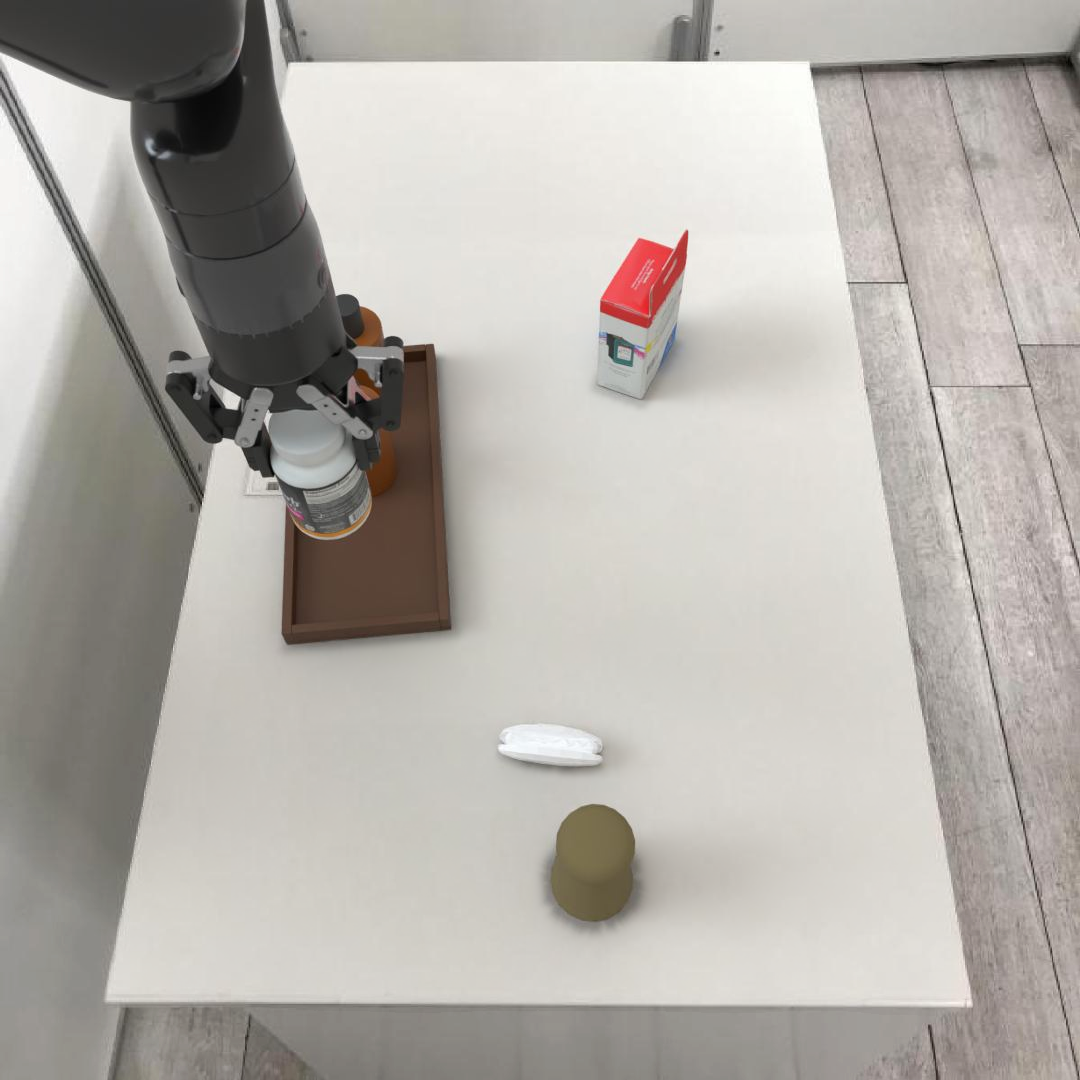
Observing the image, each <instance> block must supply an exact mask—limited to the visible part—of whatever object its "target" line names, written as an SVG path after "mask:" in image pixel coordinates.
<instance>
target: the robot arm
mask: <svg viewBox="0 0 1080 1080" xmlns="http://www.w3.org/2000/svg"><path fill="white" fill-rule="evenodd" d="M266 8H267V7H266V1H265V0H0V54H2V55H5V56H8V57H9V58H12V59H14V60H16V61H18V62H21V63H24V64H25V65H28V66H29V67H32V68H34V69H36V70H39V71H41V72H43V73H45V74H48V75H49V76H52V77H54V78H56V79H58V80H60V81H63V82H66V83H68V84H70V85H73V86H75V87H77V88H79V89H82V90H85V91H87V92H89V93H90V92H91V93H94V94H96V95H100V96H103V97H106V98H110V99H113V100H119V101H124V102H129V103H130V114H129V115H130V117H129V125H130V126H129V132H130V143H131V148H132V154H133V157H134V161H135V165H136V167H137V171H138V173H139V176H140V178H141V182H142V183H143V185H144V188H145V190H146V192H147V195H148V197H149V200H150V202H151V204H152V208H153V210H154V213H155V214H156V217H157V219H158V221H159V224H160V226H161V229H162V232H163V235H164V238H165V243H166V247H167V252H168V256H169V259H170V260H169V261H170V263H171V267H172V269H173V272H174V274H175V275H174V276H175V281H176V285H177V287H178V291H179V293H180V295H181V296H183V298H185V301H186V303H187V306H188V309H189V310H190V313H191V315H192V317H193V320H194V322H195V325H196V327H197V329H198V332H199V334H200V336H201V337H200V338H201V340H202V342H203V344H204V347H205V348H206V351H207V354H208V355H207V356H200V357H196V358H195V357H194V358H192V356H191V355H190V354H189V353H187V352H186V351H183V350H173V351H171V352H170V353H169V355H168V361H167V362H168V363H167V368H166V376H165V386H164V390H165V392H166V394H167V395H168V396H169V397H170V399H171V400H172V401H173V403H174V404H175V405H176V406H177V408H178V409H179V410H180V411H181V413H182V414H183V416H184V417H185V418H186V419H187V421H188V422H189V423H190V425H191V426H192V428H193V429H194V430H195V431H196V433H197V434H198V435H199V437H200V438H201V439H202V440H203V442H206V443H208V444H212V445H215V444H217V445H218V444H219V443H222V441H223V439H225V440H232V441H233V442H234V444H235V445H236V446H237V447H240V449H241V451H242V453H243V456H244V458H245V460H246V463H247V466H248V467H249V468H250V469H251V470H252V471H253V472H259V473H260V476H261V478H263V479H266V478H275V477H276V476H275V474H274V471H273V469H272V466H271V461H270V449H271V445H272V442H271V439H270V436H269V431H268V428H267V426H266V422H265V419H266V416H267V413H269V414H272V413H282V412H287V411H291V410H295V409H296V410H307V411H312V410H319V411H320V412H321V413H322V414H323V415H324V416H325V417H326V418H327V419H329V420H330V421H331V422H332V423H333V424H334V425H339V424H341V425H342V426H344V427H345V428H346V429H347V430H348V431H349V432H350V433H351V434H352V441H353V445H354V449H355V452H356V456H357V460H358V463H359V467H360V470H361V471H365V470H372V463H374V462H379V459H380V437H379V433H378V430H379V429H381V428H382V429H384V430H386V431H395V430H398V429H399V428H400V425H401V410H402V395H403V380H404V354H403V346H404V340H403V339H402V338H401V337H399V336H396V335H390V336H386V337H384V340H383V346H382V347H370V346H357V344H356V342H355V341H354V339H352V338H351V337H350V336H349V335H348V334H347V333H346V331H345V330H344V326H343V322H342V319H341V315H340V311H339V307H338V303H337V299H336V296H337V295H336V291H335V287H334V282H333V278H332V275H331V271H330V267H329V263H328V259H327V255H326V251H325V246H324V241H323V238H322V234H321V231H320V227H319V225H318V222H317V219H316V217H315V214H314V212H313V210H312V208H311V205H310V204H309V201H308V199H307V198H308V197H307V195H306V192H305V187H304V184H303V179H302V175H301V172H300V167H299V164H298V160H297V155H296V152H295V149H294V145H293V142H292V138H291V135H290V132H289V129H288V126H287V122H286V120H285V118H284V113H283V111H282V107H281V103H280V98H279V93H278V88H277V84H276V79H275V78H276V77H275V71H274V70H275V69H274V60H273V52H272V43H271V36H270V29H269V23H268V15H267V9H266ZM357 368H359V369H363V370H365V371H366V372H367V373H368V376H369V378H370V379H371V380H373V381H374V385H375V386H376V387H378V388H380V387H381V397H379V398H375V399H372V400H371V399H370V398H369V397H368V396H367V395H366V394H365V393H364V392H363V391H362V390H361V389H360V388H359V387H358V386H357V384H356V382H355V379H354V376H353V375H354V374H355V372H356V371H357ZM211 380H212V381H213V382H214V383H216V384H218V385H219V386H220V387H222V388H224V389H225V390H227V391H228V392H231V393H232V394H234V395H236V396H237V397H238V398H239V397H240V398H239V402H238V406H237V408H236V409H233V408H227V407H226V405H225V404H224V402H223V401H222V399H221V398H220V396H219V394H218V393H217V392H216V390H215V389H214V387H213V386H212V385H211V384H210V382H211Z"/></svg>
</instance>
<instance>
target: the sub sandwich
mask: <svg viewBox="0 0 1080 1080" xmlns="http://www.w3.org/2000/svg"><path fill="white" fill-rule="evenodd" d="M499 738H500V741H501V742H502V743H499V744H498V745H497V751H498V753H500V754H501V755H502V756H505V757H508V758H512V759H515V760H519V761H523V762H529V763H535V764H541V765H549V766H560V767H577V768H578V767H580V768H581V767H590V766H591V767H592V766H597V765H599V764H601V763H602V761H603V756H602V755H599V754H598V753H601V752H602V750H603V747H604V745H603V741H602V739H601V738H599V737H598V736H596V735H594V734H593V733H590V732H588V731H585V730H584V729H583V730H582V729H579V728H575V727H571V726H568V725H564V724H563V725H562V724H552V723H520V724H516V725H515V724H514V725H511V726H507V727H505V728H504V729H503V730H502V731H501V732H500V735H499Z"/></svg>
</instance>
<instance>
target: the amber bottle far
mask: <svg viewBox="0 0 1080 1080" xmlns="http://www.w3.org/2000/svg"><path fill="white" fill-rule="evenodd" d="M336 299H337V303H338V307H339V311H340V315H341V319H342V322H343V326H344V330H345V331H346V333H347V334H348V335H349V336H350V337H351V338H352V339H354V341H355V342H356V344H357V346H370V347H382V346H383V340H384V339H385V334H384V330H383V325H382V321H381V319H380V317H379V316H378V315H377V313H376V312H375V311H373V310H371V309H369V308H367V307H365V306H361V305H360V302H359V299H358V298H357V297H356V296H354V295H353V294H349V293H341V294H337V295H336ZM353 376H354V378H355V379H356V380H357V381H358V382H359V385H362V386H366V387H368V388H370V389H372V390H373V391H375V392H376V393H377V394H378V395H379V396H380V397H381V387H380V388H378V387H376V386H375V385H374V381H373V380H371V379H370V378H369V376H368V373H367V372H366V371H365V370H363V369H359V368H357V371H356V372H355V374H354V375H353Z"/></svg>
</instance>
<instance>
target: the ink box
mask: <svg viewBox="0 0 1080 1080" xmlns="http://www.w3.org/2000/svg"><path fill="white" fill-rule="evenodd" d="M688 244H689V229H687V228H686V229H684V232H683V234H682V235H681V237H680V239H679V241H678V242H677V244H676V245H675V246H674V248H672V247H671V246H667V245H664V244H661V243H658V242H655V241H652V240H649V239H645V238H642V237H638V238H637V240H636V241H635V242H634V245H633V246H632V247H631V249H630V251H629V252H628V254H627V255H626V257H625V259H624V260H623V262H622V263H621V265H620V266H619V268H618V270H617V271H616V273H615V275H614V276H613V277H612V279H611V281H610V282H609V284H608V286H607V287H606V289H605V290H604V292H603V294H602V295H601V297H600V299H599V302H600V303H599V323H598V347H597V365H596V366H597V367H596V385H598V386H601V387H603V388H607V389H609V390H612V391H614V392H618V393H621V394H624V395H627V396H630V397H632V398H635V399H638V400H643V398H644V396H645V394H646V393H647V391H648V388H649V387H650V386H651V383H652V382H653V380H654V378H655V376H656V374H657V373H658V370H659V369H660V367H661V365H662V363H663V362H664V360H665V358H666V356H667V355H668V353H669V351H670V349H671V347H672V346H673V343H674V342H675V338H676V332H677V326H678V318H679V312H680V305H681V299H682V298H681V297H682V292H683V284H684V280H685V279H684V278H685V272H686V265H687V259H688Z"/></svg>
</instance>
